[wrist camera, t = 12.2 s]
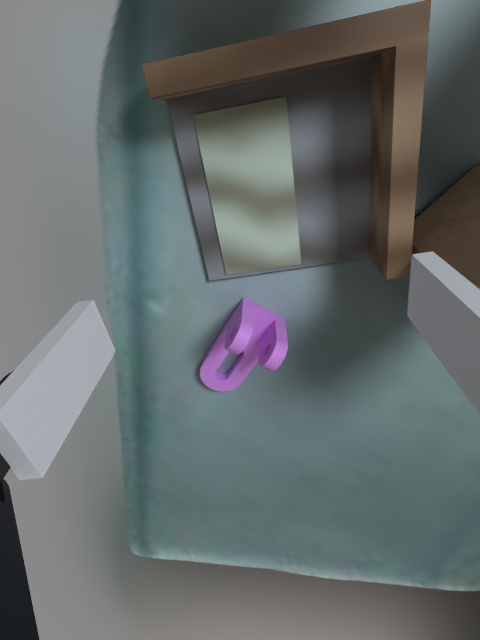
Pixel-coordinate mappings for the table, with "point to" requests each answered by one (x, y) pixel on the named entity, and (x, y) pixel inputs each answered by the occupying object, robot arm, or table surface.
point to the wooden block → (453, 227)
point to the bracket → (245, 346)
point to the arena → (303, 142)
